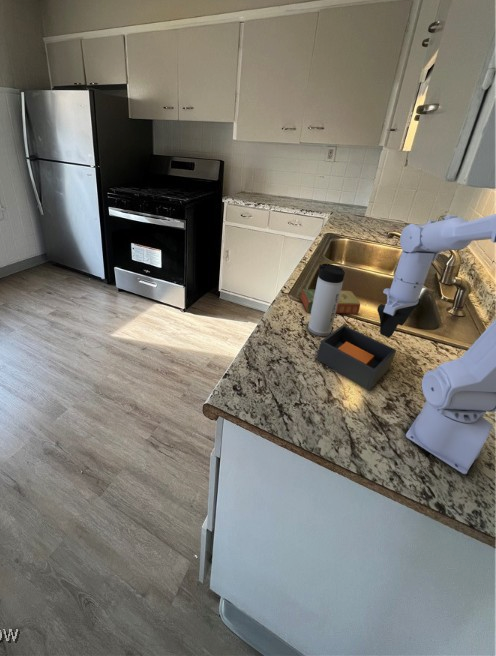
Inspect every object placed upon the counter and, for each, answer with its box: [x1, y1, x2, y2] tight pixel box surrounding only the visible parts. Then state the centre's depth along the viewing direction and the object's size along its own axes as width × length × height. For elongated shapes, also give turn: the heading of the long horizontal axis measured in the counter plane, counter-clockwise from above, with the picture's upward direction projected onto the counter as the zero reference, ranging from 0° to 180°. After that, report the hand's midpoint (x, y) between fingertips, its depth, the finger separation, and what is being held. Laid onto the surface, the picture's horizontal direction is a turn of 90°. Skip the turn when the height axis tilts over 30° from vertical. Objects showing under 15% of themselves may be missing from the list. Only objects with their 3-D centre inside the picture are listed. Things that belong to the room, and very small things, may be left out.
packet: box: [338, 341, 374, 366], centre depth 76 cm, size 7×4×3 cm, turn 41°
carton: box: [300, 288, 361, 315], centre depth 100 cm, size 8×16×4 cm, turn 89°
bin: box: [316, 324, 397, 392], centre depth 76 cm, size 13×11×6 cm
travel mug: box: [307, 262, 346, 337], centre depth 85 cm, size 6×7×20 cm
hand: (391, 329), depth 75 cm, fingers open, 7 cm apart
